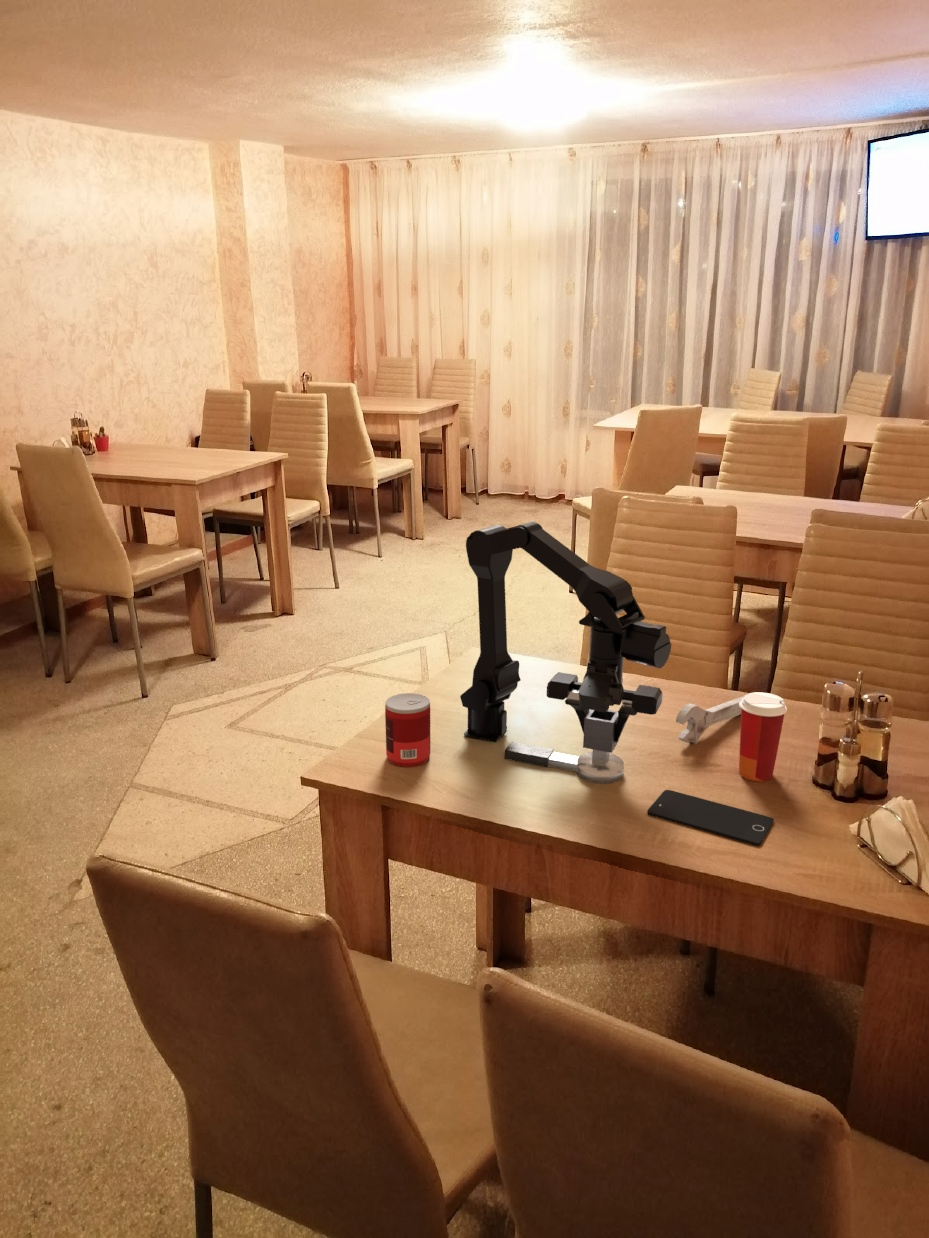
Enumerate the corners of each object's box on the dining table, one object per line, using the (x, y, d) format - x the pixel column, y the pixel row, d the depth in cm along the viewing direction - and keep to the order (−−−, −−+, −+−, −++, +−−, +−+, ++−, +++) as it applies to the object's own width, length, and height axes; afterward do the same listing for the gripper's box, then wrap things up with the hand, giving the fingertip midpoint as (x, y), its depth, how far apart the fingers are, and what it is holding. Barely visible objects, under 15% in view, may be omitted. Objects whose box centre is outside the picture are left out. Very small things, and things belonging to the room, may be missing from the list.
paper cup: (779, 767, 166) (788, 694, 162) (778, 787, 159) (787, 711, 155) (733, 760, 168) (741, 688, 164) (730, 780, 162) (738, 705, 157)
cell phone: (759, 849, 142) (759, 843, 142) (645, 816, 151) (646, 811, 151) (774, 823, 149) (774, 817, 149) (665, 793, 158) (665, 788, 158)
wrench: (757, 720, 192) (679, 751, 171) (749, 717, 193) (670, 748, 172) (763, 682, 190) (685, 709, 169) (755, 680, 191) (677, 706, 170)
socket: (582, 747, 161) (584, 718, 159) (590, 735, 165) (592, 707, 164) (611, 752, 159) (613, 723, 157) (618, 740, 164) (620, 711, 162)
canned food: (439, 757, 169) (439, 700, 166) (407, 772, 164) (406, 714, 160) (409, 744, 174) (409, 688, 171) (377, 758, 169) (376, 701, 165)
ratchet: (500, 764, 167) (500, 738, 165) (515, 745, 174) (515, 720, 172) (616, 786, 159) (618, 760, 157) (627, 766, 166) (629, 740, 164)
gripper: (537, 661, 153) (534, 748, 158) (652, 678, 147) (645, 768, 152) (558, 640, 163) (554, 722, 168) (666, 655, 156) (659, 740, 161)
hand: (601, 738), depth 162 cm, fingers closed on socket, 5 cm apart
